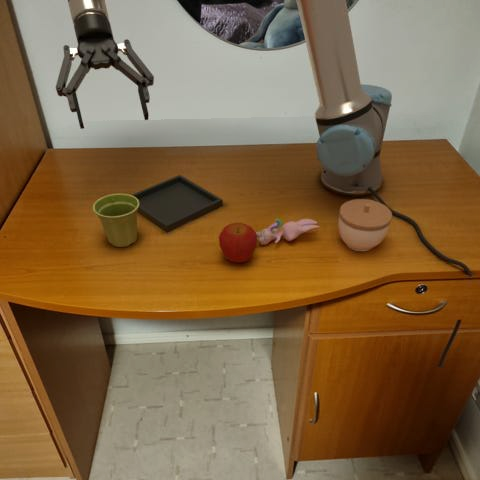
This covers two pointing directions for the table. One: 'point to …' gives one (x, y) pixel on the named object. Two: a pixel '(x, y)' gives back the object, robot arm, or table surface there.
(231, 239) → the apple
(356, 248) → the trinket box
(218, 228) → the table surface
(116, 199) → the plant pot
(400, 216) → the robot arm
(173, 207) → the drip tray
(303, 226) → the pink toy figurine
